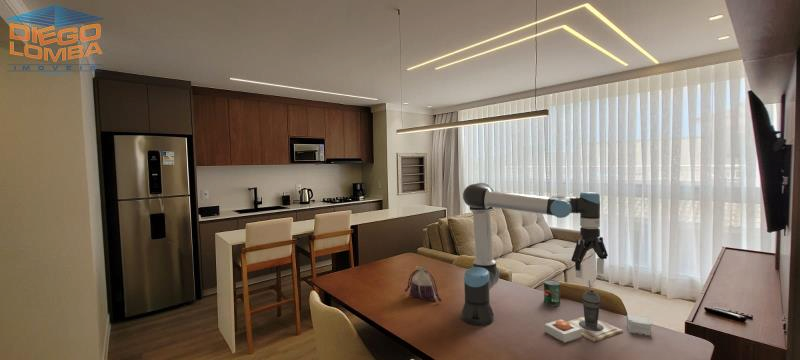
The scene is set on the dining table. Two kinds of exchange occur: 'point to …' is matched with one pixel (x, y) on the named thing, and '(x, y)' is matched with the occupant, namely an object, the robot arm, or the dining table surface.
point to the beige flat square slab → (595, 329)
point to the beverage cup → (591, 307)
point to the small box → (638, 325)
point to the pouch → (422, 285)
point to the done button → (563, 325)
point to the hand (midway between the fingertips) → (589, 275)
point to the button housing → (563, 332)
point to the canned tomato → (552, 292)
